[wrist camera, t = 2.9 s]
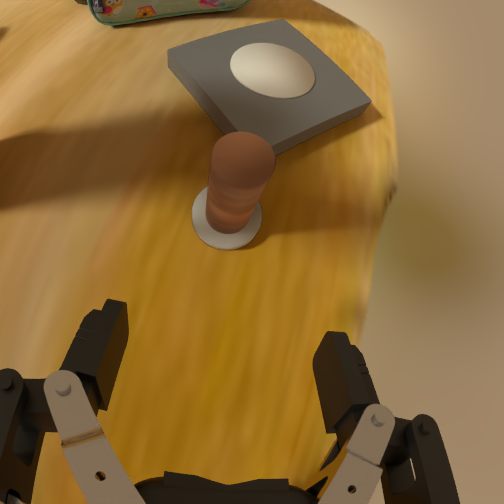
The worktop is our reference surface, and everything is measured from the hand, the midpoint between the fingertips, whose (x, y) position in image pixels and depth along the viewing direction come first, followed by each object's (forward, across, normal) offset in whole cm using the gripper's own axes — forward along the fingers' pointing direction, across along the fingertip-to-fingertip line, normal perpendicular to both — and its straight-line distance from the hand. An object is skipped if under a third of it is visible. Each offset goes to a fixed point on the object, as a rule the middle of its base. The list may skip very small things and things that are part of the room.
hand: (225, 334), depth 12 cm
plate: (+31, -2, -10) cm, 32 cm away
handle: (+18, 0, +3) cm, 18 cm away
